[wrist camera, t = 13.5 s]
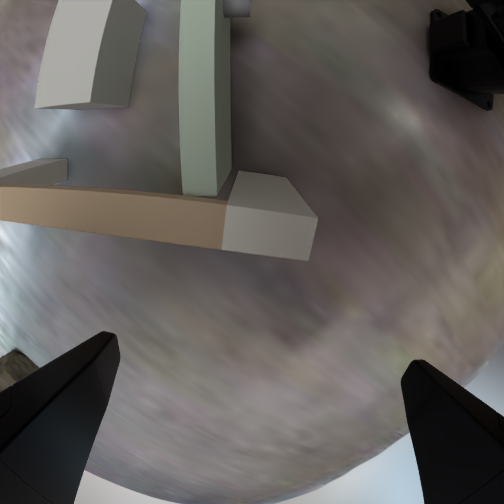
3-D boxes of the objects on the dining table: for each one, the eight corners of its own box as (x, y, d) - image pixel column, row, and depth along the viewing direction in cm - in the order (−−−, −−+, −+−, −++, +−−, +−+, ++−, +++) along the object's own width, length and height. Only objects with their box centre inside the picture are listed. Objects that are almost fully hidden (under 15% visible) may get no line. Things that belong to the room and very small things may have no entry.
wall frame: (285, 177, 17) (318, 218, 9) (281, 200, 18) (308, 261, 10) (39, 159, 16) (-50, 186, 8) (39, 178, 17) (-48, 213, 9)
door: (251, 169, 17) (252, 195, 10) (211, 170, 17) (182, 196, 10) (250, 14, 13) (249, -54, 6) (210, 16, 13) (185, -49, 6)
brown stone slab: (-14, 363, 27) (-27, 380, 23) (0, 323, 23) (-18, 343, 19) (64, 432, 32) (55, 451, 28) (100, 414, 28) (90, 439, 24)
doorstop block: (147, 12, 13) (118, -17, 8) (128, 107, 16) (90, 102, 11) (96, 20, 13) (59, -2, 8) (79, 109, 15) (34, 108, 11)
